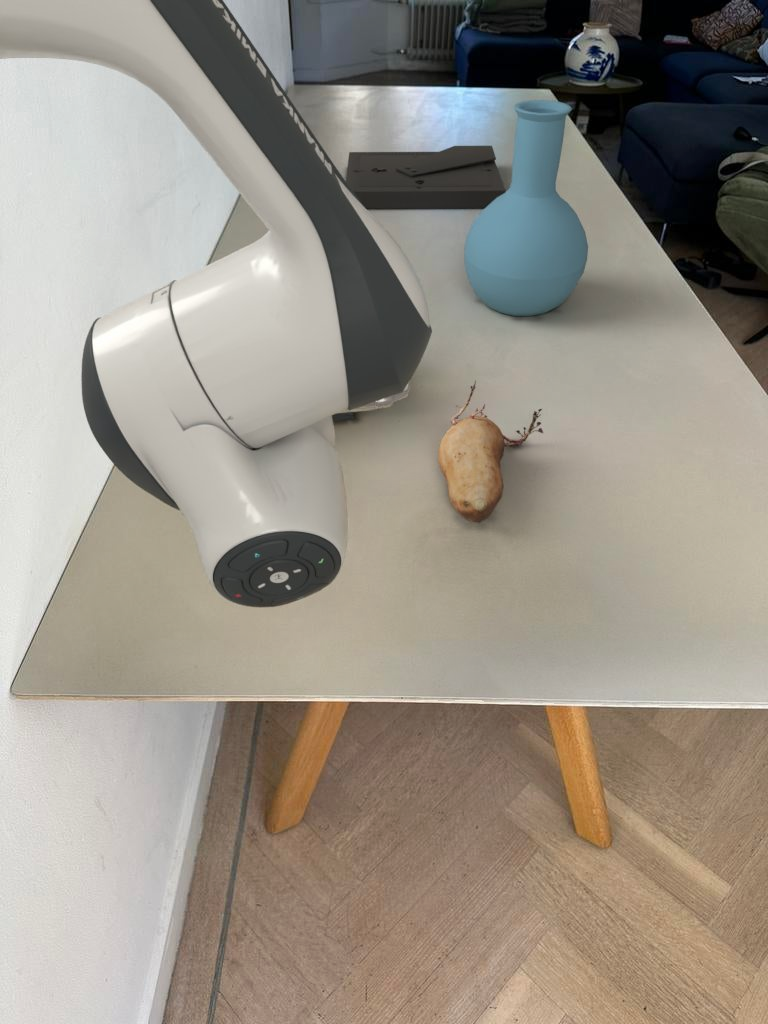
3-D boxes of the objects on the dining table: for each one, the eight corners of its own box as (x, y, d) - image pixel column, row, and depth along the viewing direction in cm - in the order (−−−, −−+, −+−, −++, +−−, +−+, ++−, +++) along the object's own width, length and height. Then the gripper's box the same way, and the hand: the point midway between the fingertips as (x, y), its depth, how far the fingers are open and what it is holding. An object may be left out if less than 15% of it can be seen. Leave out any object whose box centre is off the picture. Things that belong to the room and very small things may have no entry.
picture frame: (490, 167, 153) (349, 168, 154) (491, 145, 151) (348, 146, 151) (504, 208, 136) (345, 209, 136) (506, 183, 133) (344, 184, 133)
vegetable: (575, 518, 68) (533, 432, 63) (463, 558, 72) (415, 480, 67) (554, 426, 81) (518, 348, 75) (460, 464, 84) (419, 392, 79)
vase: (476, 332, 101) (493, 128, 84) (449, 280, 113) (460, 92, 97) (595, 323, 103) (635, 121, 86) (556, 272, 115) (584, 87, 99)
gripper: (415, 362, 52) (383, 277, 62) (106, 388, 49) (126, 296, 60) (413, 438, 56) (384, 347, 66) (128, 465, 53) (143, 366, 64)
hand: (260, 323), depth 63 cm, fingers closed on chocolate box, 4 cm apart
